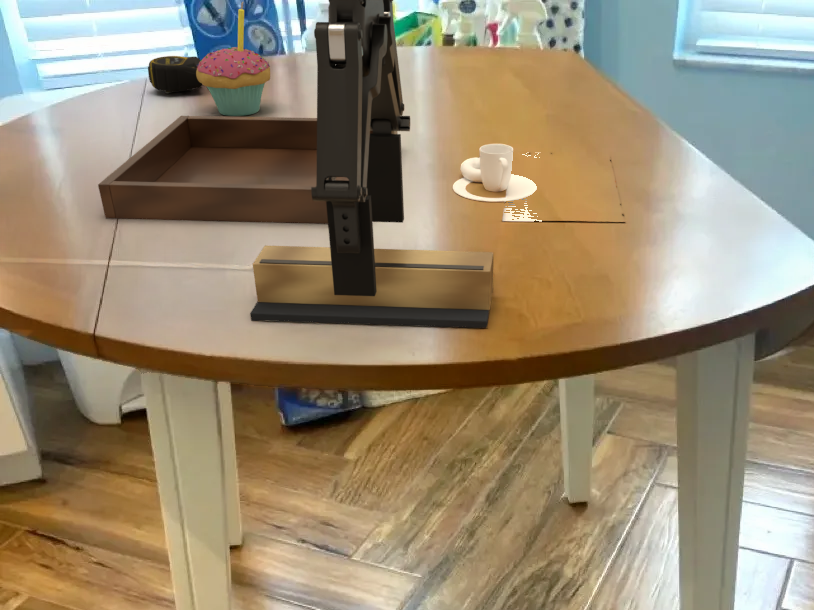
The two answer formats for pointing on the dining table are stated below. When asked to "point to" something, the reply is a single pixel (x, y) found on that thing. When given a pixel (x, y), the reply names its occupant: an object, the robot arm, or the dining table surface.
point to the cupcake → (235, 76)
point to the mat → (370, 315)
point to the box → (221, 173)
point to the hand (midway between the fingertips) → (372, 254)
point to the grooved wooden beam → (378, 278)
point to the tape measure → (174, 73)
